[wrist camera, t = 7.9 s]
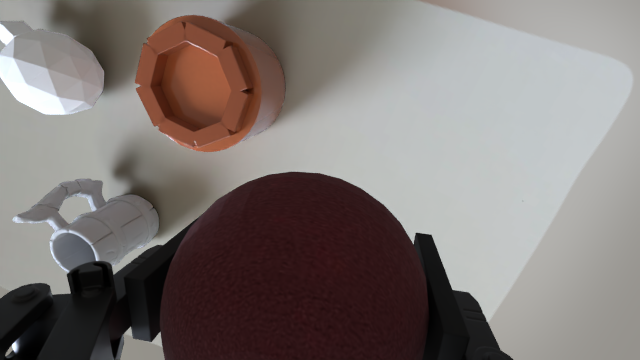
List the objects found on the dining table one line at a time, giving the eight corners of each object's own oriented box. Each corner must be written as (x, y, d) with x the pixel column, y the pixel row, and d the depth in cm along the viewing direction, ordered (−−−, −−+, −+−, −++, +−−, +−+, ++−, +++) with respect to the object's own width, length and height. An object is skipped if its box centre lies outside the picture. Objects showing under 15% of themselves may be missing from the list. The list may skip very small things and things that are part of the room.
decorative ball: (217, 274, 19) (70, 462, 10) (256, 120, 16) (86, 180, 6) (371, 333, 19) (370, 589, 9) (444, 187, 15) (559, 359, 6)
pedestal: (302, 58, 34) (276, 51, 25) (263, 154, 38) (229, 177, 29) (203, 9, 34) (143, -15, 25) (175, 110, 38) (115, 120, 29)
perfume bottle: (128, 63, 35) (54, -6, 36) (34, 77, 28) (-57, -10, 29) (119, 118, 41) (54, 58, 41) (38, 142, 33) (-39, 68, 34)
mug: (137, 249, 46) (60, 305, 35) (83, 184, 44) (-18, 220, 33) (172, 227, 44) (102, 279, 32) (117, 157, 42) (21, 186, 30)
